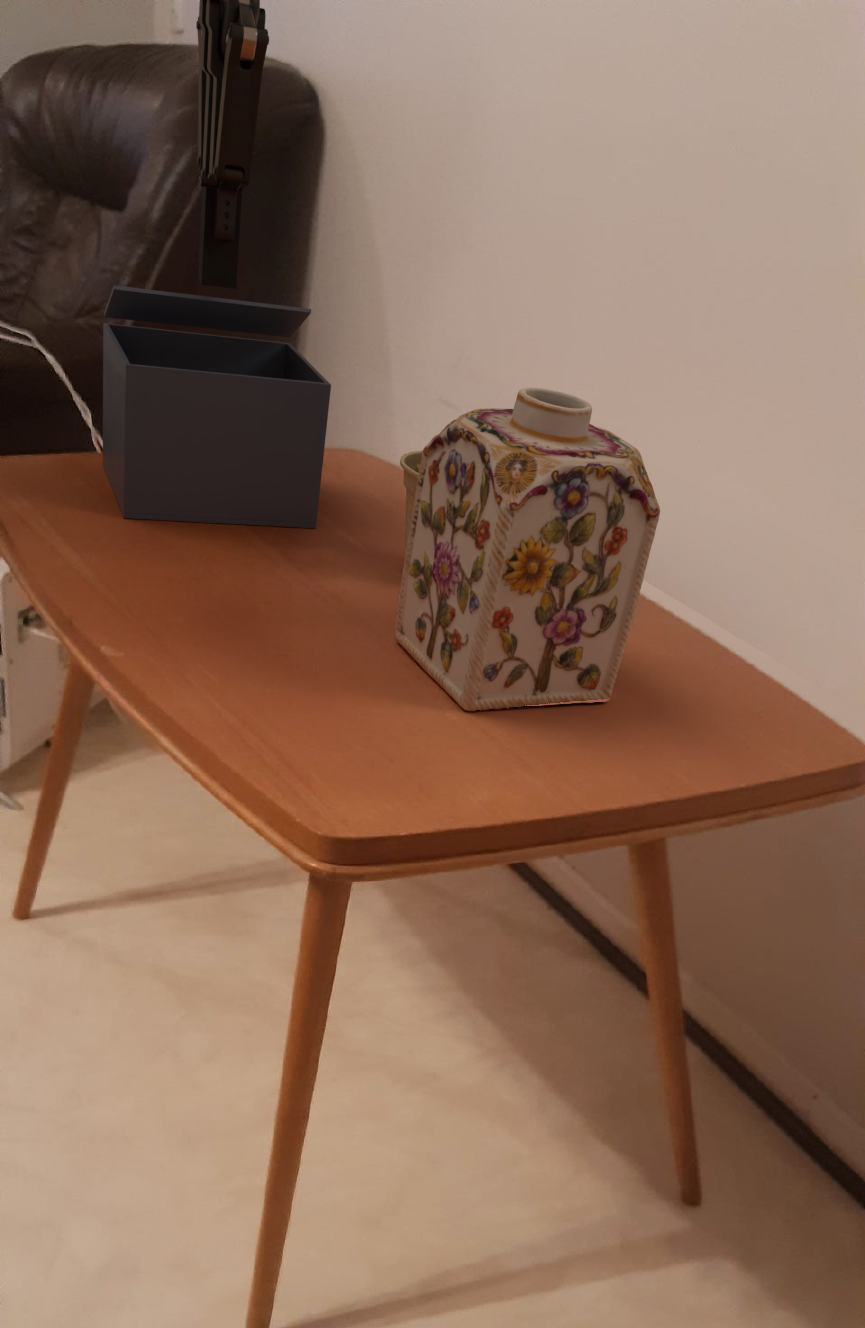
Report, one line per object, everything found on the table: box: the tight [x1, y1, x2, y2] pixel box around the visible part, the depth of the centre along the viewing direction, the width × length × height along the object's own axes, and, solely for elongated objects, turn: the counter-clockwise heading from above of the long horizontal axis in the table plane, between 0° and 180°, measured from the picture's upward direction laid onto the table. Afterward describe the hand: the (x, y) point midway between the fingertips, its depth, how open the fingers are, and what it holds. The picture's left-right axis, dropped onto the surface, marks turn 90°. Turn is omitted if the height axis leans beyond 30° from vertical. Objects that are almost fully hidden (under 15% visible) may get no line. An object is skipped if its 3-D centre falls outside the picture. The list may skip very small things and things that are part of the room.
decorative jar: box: [394, 387, 661, 712], centre depth 79 cm, size 12×12×18 cm
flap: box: [103, 285, 312, 339], centre depth 99 cm, size 16×7×1 cm, turn 109°
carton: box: [102, 322, 332, 530], centre depth 101 cm, size 16×14×11 cm
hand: (217, 284), depth 95 cm, fingers closed
